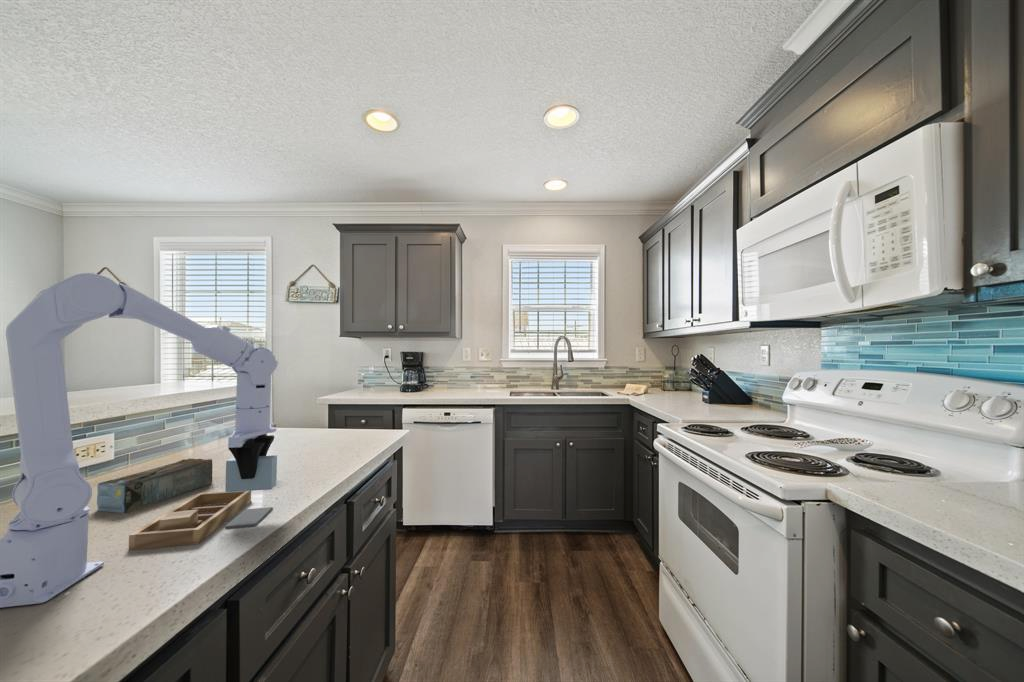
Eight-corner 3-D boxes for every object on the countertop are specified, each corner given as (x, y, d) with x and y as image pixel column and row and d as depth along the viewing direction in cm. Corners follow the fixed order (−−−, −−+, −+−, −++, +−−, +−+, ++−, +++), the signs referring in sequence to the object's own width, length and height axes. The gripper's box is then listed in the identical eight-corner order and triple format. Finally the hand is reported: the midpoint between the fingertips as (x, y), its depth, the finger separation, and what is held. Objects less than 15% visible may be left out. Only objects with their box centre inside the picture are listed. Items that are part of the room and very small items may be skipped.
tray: (198, 543, 65) (198, 529, 65) (128, 550, 62) (129, 535, 63) (250, 500, 84) (251, 489, 84) (198, 504, 81) (199, 493, 82)
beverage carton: (93, 512, 78) (94, 479, 78) (189, 481, 97) (190, 455, 97) (123, 515, 77) (124, 482, 77) (214, 484, 95) (215, 457, 96)
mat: (255, 525, 71) (255, 523, 71) (225, 528, 70) (225, 526, 70) (272, 509, 79) (272, 507, 79) (245, 511, 78) (245, 509, 78)
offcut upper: (189, 528, 66) (189, 516, 66) (159, 532, 65) (159, 520, 65) (197, 520, 70) (198, 509, 70) (169, 523, 68) (169, 512, 68)
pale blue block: (271, 489, 75) (272, 458, 75) (225, 492, 73) (226, 461, 73) (276, 485, 77) (277, 455, 77) (231, 487, 75) (232, 457, 76)
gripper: (259, 411, 69) (257, 486, 69) (288, 402, 83) (287, 464, 83) (215, 413, 68) (213, 489, 67) (252, 403, 82) (251, 466, 81)
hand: (251, 475), depth 75 cm, fingers closed on pale blue block, 2 cm apart
